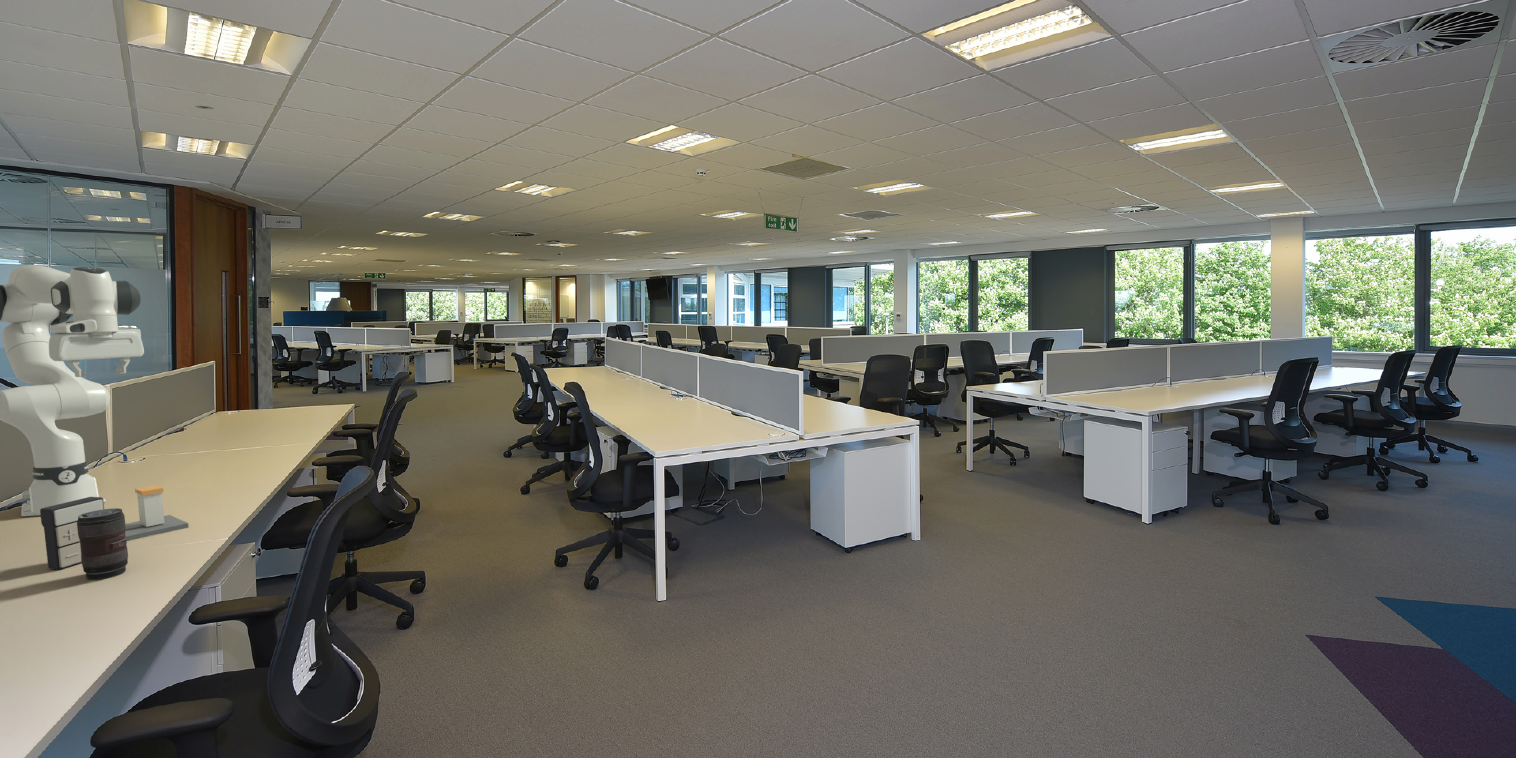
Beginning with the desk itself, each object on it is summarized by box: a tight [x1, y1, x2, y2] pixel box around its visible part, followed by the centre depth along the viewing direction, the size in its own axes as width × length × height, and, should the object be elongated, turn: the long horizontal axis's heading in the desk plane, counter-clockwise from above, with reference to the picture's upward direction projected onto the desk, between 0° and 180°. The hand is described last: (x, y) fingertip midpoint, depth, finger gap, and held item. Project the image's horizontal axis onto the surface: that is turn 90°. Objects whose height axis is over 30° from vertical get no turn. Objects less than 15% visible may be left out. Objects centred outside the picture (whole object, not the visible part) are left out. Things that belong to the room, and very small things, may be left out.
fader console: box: [125, 514, 190, 541], centre depth 189 cm, size 14×24×1 cm, turn 148°
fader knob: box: [134, 484, 165, 527], centre depth 193 cm, size 6×5×10 cm
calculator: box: [40, 496, 105, 571], centre depth 168 cm, size 11×4×15 cm, turn 168°
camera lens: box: [77, 507, 129, 581], centre depth 161 cm, size 8×8×15 cm
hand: (101, 375), depth 192 cm, fingers open, 8 cm apart
